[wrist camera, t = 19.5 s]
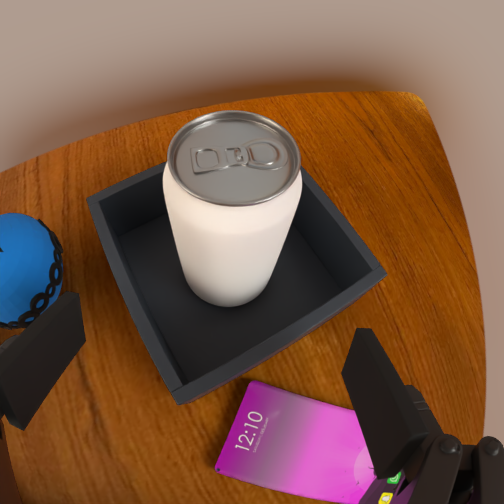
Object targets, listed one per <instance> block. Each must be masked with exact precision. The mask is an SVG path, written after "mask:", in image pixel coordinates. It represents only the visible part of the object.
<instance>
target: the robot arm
mask: <svg viewBox="0 0 504 504" xmlns="http://www.w3.org/2000/svg"><path fill="white" fill-rule="evenodd" d="M85 341H86V338H85V332H84V326H83V320H82V313H81V305H80V297H79V293H74V292H69V291H66V292H65V293H63V294H62V295H61V296H60V297H59V298H58V299H57V300H56V301H55V302H54V303H52V304H51V305H50V306H49V307H48V308H47V309H46V310H45V311H44V312H43V313H42V314H41V315H40V316H39V317H37V318H36V319H35V320H34V321H33V322H32V323H31V324H30V325H29V326H28V327H27V328H26V329H25V330H24V331H23V332H22V333H21V334H20V335H19V336H18V335H14V336H12V337H10V338H9V339H7V340H6V341H4V342H3V343H2V344H1V345H0V504H22V501H21V498H20V495H19V492H18V488H17V485H16V481H15V477H14V474H13V470H12V466H11V461H10V457H9V452H8V447H7V442H6V437H5V431H4V425H3V423H2V420H1V418H2V417H3V415H4V414H5V416H6V418H7V420H8V421H9V423H10V424H11V425H13V426H15V427H17V428H19V429H21V430H23V431H24V430H25V428H26V427H27V425H28V423H29V422H30V420H31V419H32V417H33V416H34V414H35V413H36V411H37V410H38V408H39V407H40V405H41V404H42V402H43V401H44V399H45V398H46V396H47V395H48V393H49V392H50V390H51V389H52V387H53V386H54V384H55V383H56V382H57V380H58V379H59V377H60V376H61V374H62V373H63V372H64V370H65V369H66V367H67V366H68V365H69V363H70V362H71V360H72V359H73V358H74V356H75V355H76V354H77V352H78V351H79V349H80V348H81V347H82V345H83V344H84V343H85ZM341 374H342V377H343V379H344V382H345V385H346V388H347V391H348V393H349V396H350V399H351V402H352V405H353V408H354V410H355V413H356V416H357V419H358V422H359V425H360V428H361V431H362V434H363V437H364V440H365V443H366V446H367V449H368V452H369V455H370V458H371V461H372V464H373V467H374V470H375V473H376V476H377V479H378V480H381V479H387V478H392V477H396V475H397V474H398V473H399V472H400V471H401V470H402V469H403V471H404V474H405V476H404V477H403V479H402V480H401V481H400V482H399V483H398V484H397V485H396V486H395V487H394V489H393V490H396V489H397V490H396V492H395V494H394V496H393V497H392V499H391V501H390V503H389V504H504V448H503V445H502V444H501V442H500V441H499V440H497V439H496V438H494V437H490V436H487V437H484V438H482V439H481V440H480V441H479V443H478V444H477V445H462V444H461V442H460V441H459V440H458V439H457V438H456V437H454V436H452V435H449V434H444V433H443V431H442V429H441V428H440V426H439V424H438V422H437V420H436V419H435V417H434V415H433V413H432V412H431V410H429V406H428V405H427V403H425V400H424V398H423V396H422V394H421V393H420V392H419V391H418V390H417V389H416V388H415V387H414V386H412V385H404V384H403V382H402V380H401V378H400V377H399V375H398V373H397V371H396V370H395V368H394V366H393V364H392V363H391V361H390V359H389V358H388V356H387V354H386V352H385V351H384V349H383V347H382V346H381V344H380V342H379V341H378V339H377V337H376V336H375V334H374V332H373V331H372V329H370V328H357V329H356V332H355V335H354V338H353V341H352V344H351V347H350V350H349V353H348V356H347V358H346V361H345V364H344V367H343V370H342V372H341Z"/></svg>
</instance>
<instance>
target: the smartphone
mask: <svg viewBox="0 0 504 504" xmlns="http://www.w3.org/2000/svg"><path fill="white" fill-rule="evenodd" d="M215 471H216V472H218V473H220V474H223V475H226V476H229V477H232V478H235V479H238V480H241V481H244V482H247V483H251V484H254V485H258V486H261V487H265V488H269V489H272V490H276V491H280V492H285V493H289V494H293V495H298V496H303V497H308V498H313V499H319V500H324V501H331V502H337V503H344V504H389V503H390V501H391V499H392V497H393V496H394V494H395V492H396V490H397V489H396V490H393V489H394V487H395V486H396V485H397V484H398V483H399V482H400V481H401V480H402V479H403V477H404V476H405V474H404V471H403V469H402V470H401V471H400V472H399V473H398V474H397V475H396V477H392V478H387V479H381V480H378V479H377V476H376V473H375V470H374V467H373V464H372V461H371V458H370V455H369V452H368V449H367V446H366V443H365V440H364V437H363V434H362V431H361V428H360V425H359V422H358V419H357V416H356V413H355V411H354V410H350V409H346V408H342V407H339V406H335V405H331V404H328V403H324V402H321V401H317V400H314V399H311V398H307V397H304V396H301V395H298V394H295V393H291V392H288V391H285V390H282V389H279V388H276V387H273V386H270V385H268V384H265V383H262V382H259V381H252V382H250V383H249V385H248V387H247V390H246V392H245V395H244V397H243V400H242V402H241V405H240V407H239V410H238V412H237V415H236V417H235V420H234V422H233V424H232V427H231V429H230V432H229V434H228V436H227V439H226V441H225V444H224V446H223V448H222V451H221V453H220V455H219V458H218V460H217V462H216V465H215Z"/></svg>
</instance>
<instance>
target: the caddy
mask: <svg viewBox="0 0 504 504" xmlns="http://www.w3.org/2000/svg"><path fill="white" fill-rule="evenodd" d="M166 163H167V161H166V162H164V163H161V164H159V165H157V166H154V167H152V168H150V169H147V170H145V171H143V172H140V173H138V174H136V175H134V176H132V177H129V178H127V179H125V180H123V181H121V182H119V183H116V184H114V185H112V186H110V187H108V188H106V189H104V190H102V191H100V192H98V193H96V194H94V195H92V196H90V197H88V198H86V200H87V203H88V206H89V209H90V212H91V215H92V218H93V221H94V224H95V227H96V230H97V233H98V236H99V238H100V241H101V244H102V247H103V249H104V252H105V255H106V257H107V260H108V263H109V265H110V268H111V270H112V273H113V275H114V278H115V280H116V282H117V285H118V287H119V290H120V292H121V294H122V297H123V299H124V301H125V304H126V306H127V308H128V310H129V312H130V315H131V317H132V319H133V321H134V323H135V325H136V328H137V330H138V332H139V334H140V336H141V338H142V340H143V342H144V344H145V346H146V348H147V350H148V352H149V354H150V356H151V358H152V360H153V362H154V364H155V366H156V368H157V369H158V371H159V373H160V375H161V377H162V379H163V381H164V382H165V384H166V386H167V388H168V390H169V391H170V392H171V395H172V396H173V398H174V400H175V402H176V403H177V405H182V404H187V403H191V402H193V401H195V400H197V399H198V398H200V397H202V396H204V395H206V394H208V393H210V392H212V391H213V390H215V389H217V388H219V387H221V386H223V385H224V384H226V383H228V382H230V381H232V380H233V379H235V378H237V377H239V376H240V375H242V374H244V373H246V372H247V371H249V370H251V369H253V368H254V367H256V366H258V365H259V364H261V363H263V362H264V361H266V360H268V359H269V358H271V357H273V356H274V355H276V354H277V353H279V352H281V351H282V350H284V349H285V348H287V347H289V346H290V345H292V344H293V343H295V342H297V341H298V340H300V339H301V338H303V337H304V336H306V335H307V334H309V333H310V332H312V331H313V330H315V329H316V328H318V327H319V326H321V325H322V324H324V323H325V322H327V321H328V320H330V319H331V318H333V317H334V316H336V315H337V314H339V313H340V312H341V311H343V310H344V309H346V308H347V307H349V306H350V305H351V304H353V303H354V302H355V301H357V300H358V299H359V298H360V297H362V296H363V295H364V294H365V293H367V292H368V291H369V290H370V289H371V288H373V287H374V286H375V285H376V284H377V283H379V282H380V281H381V280H382V279H383V278H384V277H386V276H387V273H386V272H385V270H384V269H383V267H382V266H381V265H380V263H379V262H378V260H377V259H376V258H375V256H374V255H373V253H372V252H371V251H370V249H369V248H368V247H367V245H366V244H365V243H364V242H363V240H362V239H361V238H360V236H359V235H358V234H357V232H356V231H355V230H354V229H353V227H352V226H351V225H350V223H349V222H348V221H347V220H346V218H345V217H344V216H343V215H342V213H341V212H340V211H339V210H338V208H337V207H336V206H335V205H334V204H333V202H332V201H331V200H330V199H329V197H328V196H327V195H326V194H325V193H324V191H323V190H322V189H321V188H320V187H319V186H318V184H317V183H316V182H315V181H314V180H313V178H312V177H311V176H310V175H309V174H308V173H307V172H306V170H305V169H304V168H303V167H302V166H300V171H301V176H302V191H301V196H300V200H299V203H298V206H297V209H296V212H295V214H294V217H293V220H292V223H291V225H290V228H289V231H288V233H287V236H286V239H285V241H284V244H283V246H282V249H281V252H280V254H279V257H278V259H277V262H276V264H275V267H274V269H273V272H272V274H271V277H270V279H269V281H268V283H267V285H266V287H265V288H264V290H263V291H262V292H261V293H260V294H259V295H258V296H257V297H256V298H255V299H253V300H251V301H250V302H248V303H245V304H243V305H239V306H234V307H221V306H216V305H213V304H210V303H208V302H206V301H204V300H202V299H201V298H200V297H198V296H197V295H196V294H195V293H194V292H193V291H192V289H191V288H190V286H189V285H188V283H187V281H186V278H185V275H184V272H183V269H182V265H181V262H180V258H179V254H178V251H177V247H176V243H175V239H174V235H173V231H172V227H171V223H170V219H169V215H168V211H167V206H166V202H165V196H164V191H163V173H164V169H165V166H166Z"/></svg>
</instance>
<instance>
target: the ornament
mask: <svg viewBox="0 0 504 504" xmlns="http://www.w3.org/2000/svg"><path fill="white" fill-rule="evenodd" d="M62 253H63V249H62V246H61V244H60V242H59V240H58V238H57V237H56V235H55V234H54V232H53V231H50V229H49V228H48V227H47V226H46V225H45V224H44V223H43V222H42V221H41V220H40V219H38V220H36V219H34V218H32V217H30V216H27V215H24V214H19V213H7V214H3V215H0V327H1V328H5V329H9V330H12V328H13V329H18V328H21V327H22V328H27V327H28V326H29V325H30V324H31V323H32V322H33V321H34V320H35V319H36V318H37V317H39V316H40V315H41V314H42V313H43V312H44V311H45V310H46V309H47V308H48V307H49V306H50V305H51V304H52V303H54V302H55V301H56V300H57V298H58V296H59V293H60V290H61V286H62V279H63V263H62V256H61V254H62Z"/></svg>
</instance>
